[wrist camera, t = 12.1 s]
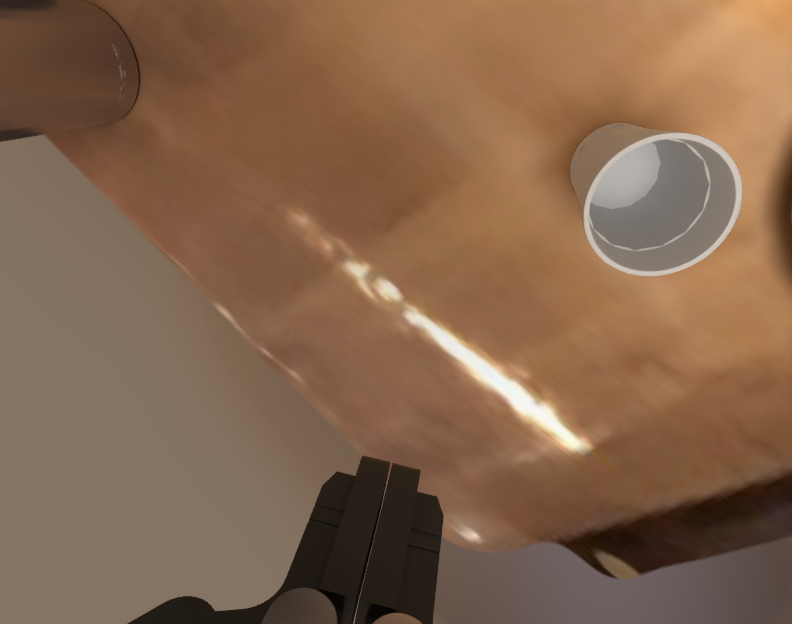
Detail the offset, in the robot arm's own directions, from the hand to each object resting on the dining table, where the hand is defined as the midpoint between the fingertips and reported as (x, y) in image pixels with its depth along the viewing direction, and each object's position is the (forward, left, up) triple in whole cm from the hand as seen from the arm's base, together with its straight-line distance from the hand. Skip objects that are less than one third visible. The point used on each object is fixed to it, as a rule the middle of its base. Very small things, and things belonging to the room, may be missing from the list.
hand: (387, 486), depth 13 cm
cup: (+11, +4, -32) cm, 34 cm away
